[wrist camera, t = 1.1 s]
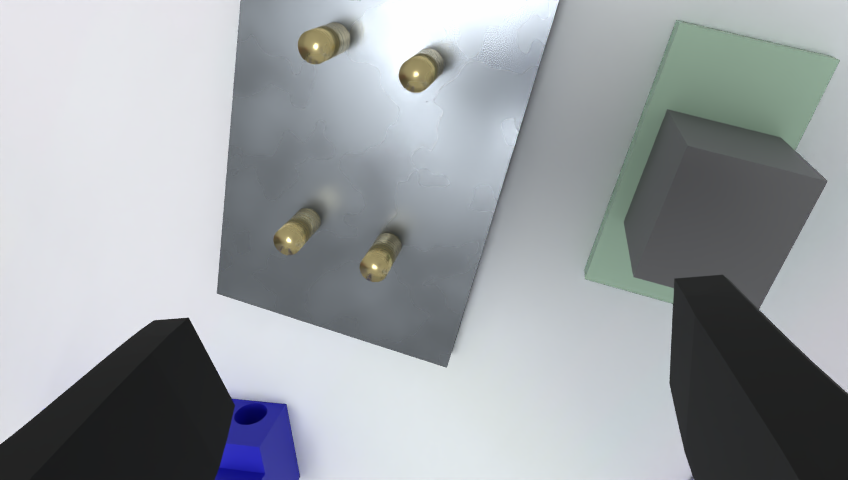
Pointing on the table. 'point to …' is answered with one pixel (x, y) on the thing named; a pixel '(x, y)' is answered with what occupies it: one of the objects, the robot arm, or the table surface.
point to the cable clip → (259, 444)
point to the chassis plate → (373, 158)
